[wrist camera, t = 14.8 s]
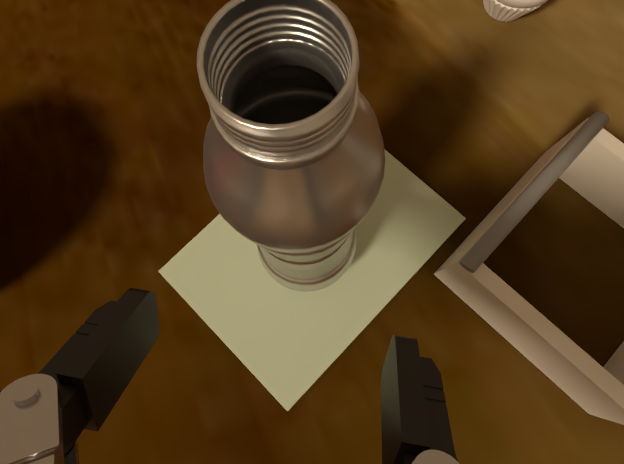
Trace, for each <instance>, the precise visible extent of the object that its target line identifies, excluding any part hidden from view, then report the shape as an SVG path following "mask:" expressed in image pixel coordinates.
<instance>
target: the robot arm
mask: <svg viewBox="0 0 624 464" xmlns="http://www.w3.org/2000/svg"><path fill="white" fill-rule="evenodd" d="M158 332H159V318H158V311H157V303H156V296H155V293H154V292H151V291H146V290H140V289H134V288H130V289H128V290H127V291H126V292H125V293H124V294H123V296H122V297H121V298H120V299H119V300H118V301H109V302H108V303H106V304H105V305H103V306H101V307H100V308H98V309H96V310H95V311H94V312H93V313H92V315H91V316H90V317H89V318H88V319H87V320H86V321H85V324H83V325H82V326H81V327H80V328H79V329H78V330H77V331H76V334H74V335H73V336H72V337H71V338H70V339H69V340H68V341H67V342H66V343H65V345H64V346H63V347H62V348H61V349H60V350H59V351H58V352H57V353H56V355H55V356H54V357H53V358H52V359H51V360H50V361H49V362H48V363H47V365H46V366H45V367H44V368H43V369H42V370H41V371H40V372H39V373H38V374H33V375H28V376H25V377H22V378H20V379H18V380H16V381H14V382H12V383H11V384H9V385H8V386H7V387H6V388H4V389H3V390H2V391H0V464H79V455H78V443H77V438H78V437H79V435H80V434H81V432H82V431H83V429H89V430H94V431H98V430H99V429H100V427H101V426H102V424H103V423H104V421H105V419H106V418H107V416H108V415H109V413H110V412H111V410H112V409H113V407H114V405H115V404H116V402H117V401H118V399H119V398H120V396H121V394H122V393H123V391H124V390H125V388H126V387H127V385H128V384H129V382H130V380H131V379H132V377H133V376H134V374H135V373H136V371H137V370H138V368H139V366H140V365H141V363H142V362H143V360H144V359H145V357H146V356H147V354H148V352H149V351H150V349H151V348H152V346H153V345H154V343H155V341H156V339H157V336H158ZM445 402H446V401H445V395H444V392H443V384H442V379H441V373H440V372H439V370H438V368H437V367H436V365H435V364H434V362H433V360H432V359H430V358H424V357H420V356H419V349H418V342H417V340H416V339H413V338H407V337H401V336H396V335H393V336H392V339H391V342H390V346H389V349H388V352H387V356H386V359H385V362H384V366H383V370H382V377H381V413H382V464H459V462H458V460H457V458H456V455H455V451H454V446H453V440H452V434H451V429H450V423H449V418H448V412H447V407H446V404H445Z"/></svg>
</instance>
